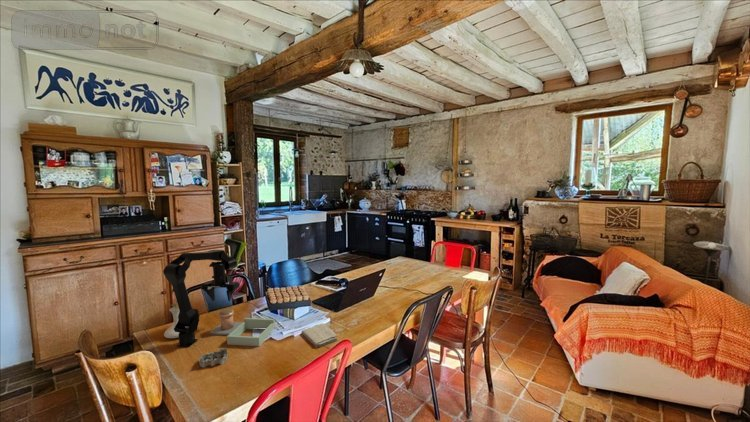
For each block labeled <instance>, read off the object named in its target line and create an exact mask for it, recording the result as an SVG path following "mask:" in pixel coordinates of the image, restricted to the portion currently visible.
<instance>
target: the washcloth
mask: <svg viewBox="0 0 750 422" xmlns="http://www.w3.org/2000/svg"><path fill="white" fill-rule="evenodd" d="M301 334H302V335H303V336H304V338H306V339H307V340H308V341H309V342H310V343H311V344H312V345H313V346H314V347H315V349H316V348H318V347H319V348H321V347H324V346H327V345H329V344H332V343H334V342H337V341H338V340H339V339H338V337H337V334H336V333H335V332H334V330H333V329H331V328H330V327H329V326H327V325H325V323H319V324H317V325H315V326H312V327H308V328H306V329H303V330H301Z"/></svg>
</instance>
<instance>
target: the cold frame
mask: <svg viewBox="0 0 750 422" xmlns="http://www.w3.org/2000/svg"><path fill="white" fill-rule="evenodd" d="M243 320H244V321H242V322H243V323H242V324H241V325H240V326H239V327H237V328H236V329H235V330H234V331H233V332H232V333H230V334H229V335H226V340H227V345H230V346H231V345H233V346H247V347H248V346H250V347H251V346H252V347H261V345H263V343H264V342H265V339H266V337H267V336H268V335H269V333H270V332H271V331H272V330H273V329H274V328H275V329H276V324H275V319H274V318H259V317H257V318H255V317H244V319H243ZM253 328H266V329H265V330H262V332H261V333H260V334H259V335H258V336H252V335H251V336H250V335H247V336H245V335H242V334H243V333H244V332H245V331H246V330H254V329H253ZM269 336H270V335H269ZM269 336H268V337H269ZM266 340H267V339H266Z"/></svg>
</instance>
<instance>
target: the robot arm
mask: <svg viewBox="0 0 750 422" xmlns="http://www.w3.org/2000/svg"><path fill="white" fill-rule="evenodd" d="M207 260H208V261H211V263H210V264H209V265H208V267H211V268H212V274H213V275H212V276H211V278H212V279H213V280H212V281H211V280H210V281H209V280H208V281H206V282H204V283H202V284H201V287H200V288H201V290H203V291H204V292H205V293H206V294H207V295H208V296H209V298H210V299H211V301H212V302H214V301H216V299H215V298H216V295H215V289H216V288H221V289H222V288H225V289H226V292H225V293H226V296H227V297H226V298H227V301H228V302H231V300H232V298H233V295H234V291H235V290H237V289H238V288H240V283H239V282H238V281H233V275H228V273H227V272H226V271H229V270H232V269H234V268H236V267H237V265H238V261H237V260H236V258H235V257H234V255H230V256H228V254H226V251H225V250H223V249H211V250H208V251H202V252H201V251H200V252H182V253H181V254H180V255H179V256H177V257H176V258H175V259H173V260H171V261H170V262H169V263H168V264H167V265H166V266H165V267H164V268H163V271H162V273H163V275H164V277H165V279H166V280H167V281H168V282H169V283H170V284H171V287H172V290H173V293H174V296H175V300H176V302H177V307H179V310H180V311H179V315H178V322H177V324H176V326H175V327H174V331H175V332H179V334H178V335H179V337H178V344H176V347H183V348H189V347H191V346H192V345H193V344H195V343H196V342H197V341H199V339H198V338H196V334H195V333H196V331H197V330H198V326H199V322H200V317H201V315H200V313H199V310H198V308H193V307H192V305H191V301H190V297H189V293H188V290H187V286H186V283H185V280H186V276H187V273H186V272H187V271H188V270H189V269H190V266H191V263H192V262H193V261H194V262H195V261H207ZM185 326H186V327H185Z"/></svg>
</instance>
